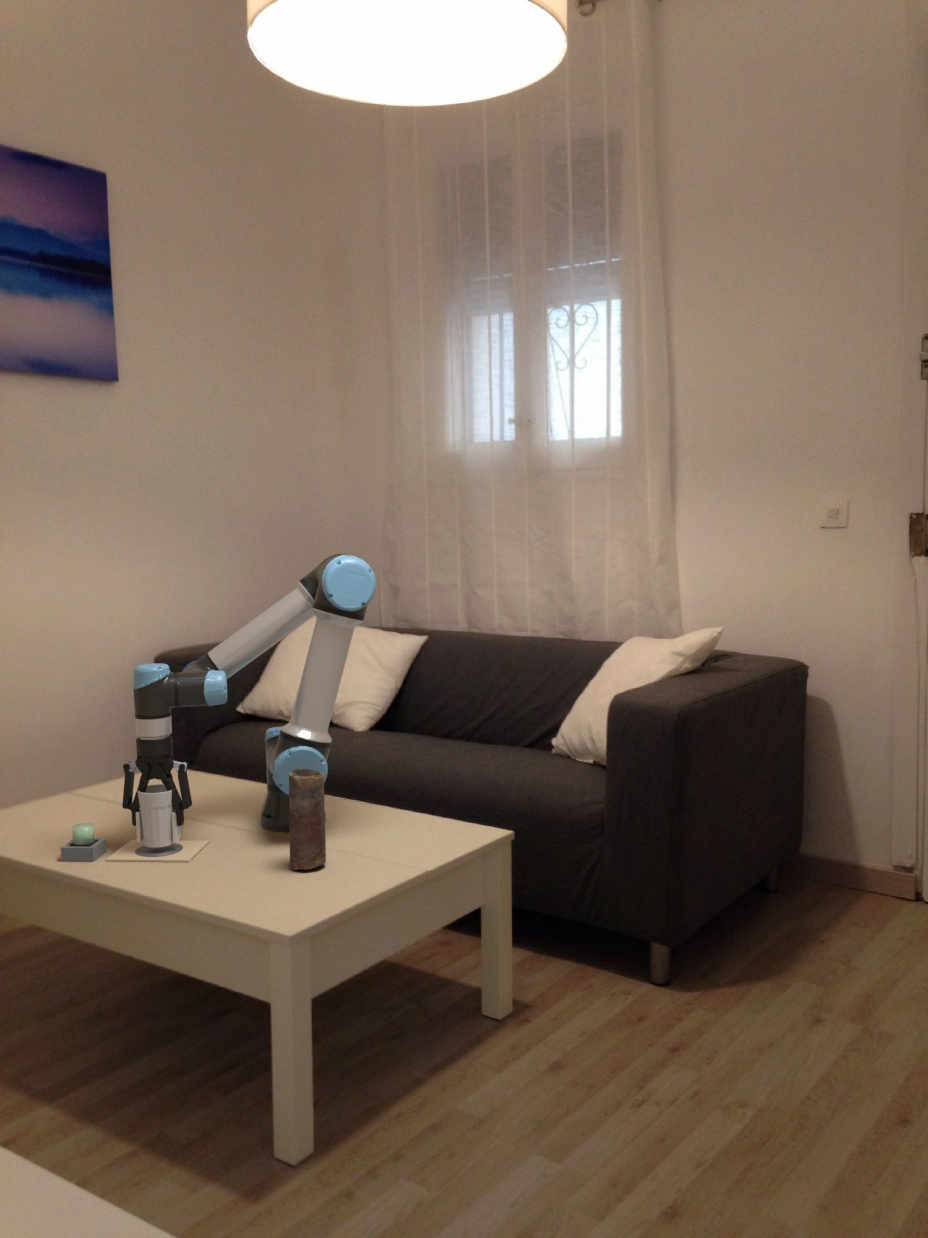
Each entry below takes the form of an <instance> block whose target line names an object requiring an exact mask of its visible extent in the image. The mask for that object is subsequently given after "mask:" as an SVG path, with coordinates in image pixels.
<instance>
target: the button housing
mask: <svg viewBox="0 0 928 1238" xmlns="http://www.w3.org/2000/svg"><path fill="white" fill-rule="evenodd" d="M94 839H95V841H94V842H93V843H91V844H87V845H75V844H73V839H71V840H70V841H69V842H67V843H65V844H63V846H61V847H60V857H61V858H60V859H61V862H65V863H66V862H70V863H71V862H73V863H74V862H76V863H94V862H95V861H97V860H98V859H99V858H101V857H102V856H103V855H105V854H106V853H107V852H108V847H107V846H108V844H107V843H108V842H107V838H106V837H94Z"/></svg>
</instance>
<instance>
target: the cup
mask: <svg viewBox="0 0 928 1238" xmlns="http://www.w3.org/2000/svg"><path fill="white" fill-rule="evenodd" d="M173 790H175V789H173ZM136 791H138V798H139V805H140V808H139V810H140V811H141V819H142V827H143V835H144V846H146V847H153V848H155V847H165V846H169V845H171V844H173V843H174V842H173V829H172V812H173V811H175V809H174V806H173V804H172V802H171V801H172V790H170V791H167V790H166V788H165V786H164V784H163V783H162V784H160V783H158V784H151V785H147V788H146V791H145V793H142V792H140V791H139V790H136Z"/></svg>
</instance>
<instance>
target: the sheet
mask: <svg viewBox="0 0 928 1238" xmlns="http://www.w3.org/2000/svg"><path fill="white" fill-rule="evenodd" d="M210 843H211V841H210V840H183V839H182V840H181V839H180V840H179V841H177V842H174V843H173V844H171V845H169V846H165V847H155V848H153V847H146V846H144V840H142V841H141V842H137V839H131V840H129V841H128V842H127V843H125V844H124V845H122V846H121V847H120V848H119V849H117V850H116V851H115V852H113V853H112V854H111V855H110V856H108V857H107V858H106V859H105V862H122V863H123V862H125V863H127V862H130V863H131V862H133V863H138V862H139V863H141V862H142V863H190V862H192V860H193V859H194V858H195V857H196V856H197V855H198V854H200V852H202V851H203V849H205V848H206V847H207V846H208V845H209V844H210Z"/></svg>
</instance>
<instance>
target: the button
mask: <svg viewBox="0 0 928 1238" xmlns="http://www.w3.org/2000/svg"><path fill="white" fill-rule="evenodd" d="M71 830H72V832H71V833H72V840H73V844H75V845H87V844H91V843H93V842H94V841H95V839H94V838H95V823H94V824H93V823H91V822H90V823H89V822H88V823H87V822H86V823H85V822H83V823H78V824H77V823H76V824H74V825H72V827H71Z"/></svg>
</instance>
